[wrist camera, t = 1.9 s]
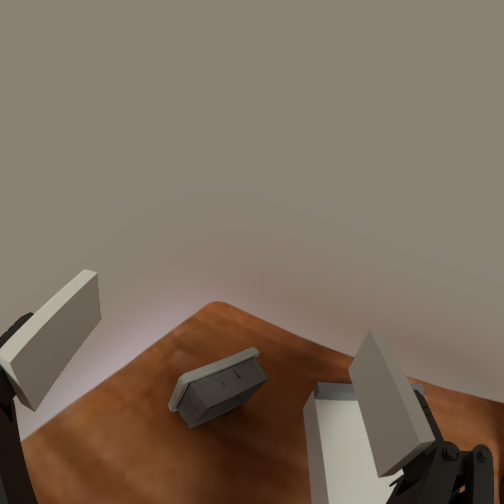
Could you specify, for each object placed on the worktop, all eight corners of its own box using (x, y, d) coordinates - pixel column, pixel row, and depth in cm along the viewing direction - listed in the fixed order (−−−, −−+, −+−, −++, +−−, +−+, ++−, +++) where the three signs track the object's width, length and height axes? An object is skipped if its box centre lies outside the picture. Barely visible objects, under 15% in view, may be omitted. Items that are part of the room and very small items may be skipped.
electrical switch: (229, 382, 34) (247, 334, 29) (254, 410, 30) (279, 366, 26) (166, 408, 27) (169, 361, 23) (190, 443, 24) (200, 404, 20)
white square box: (402, 408, 32) (421, 383, 30) (436, 507, 15) (467, 487, 13) (302, 408, 31) (317, 381, 29) (313, 536, 14) (339, 526, 12)
